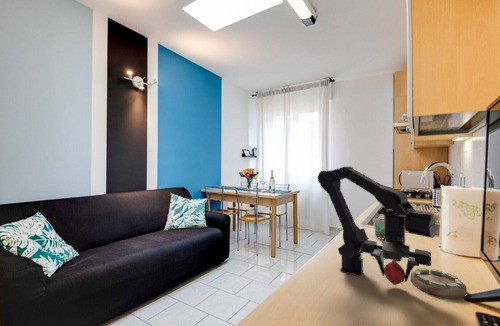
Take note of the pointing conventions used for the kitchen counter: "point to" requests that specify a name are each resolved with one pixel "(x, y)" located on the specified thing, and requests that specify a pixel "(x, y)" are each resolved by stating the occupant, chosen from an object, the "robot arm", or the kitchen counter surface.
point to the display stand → (438, 283)
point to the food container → (379, 227)
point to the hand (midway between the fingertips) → (394, 278)
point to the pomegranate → (394, 272)
